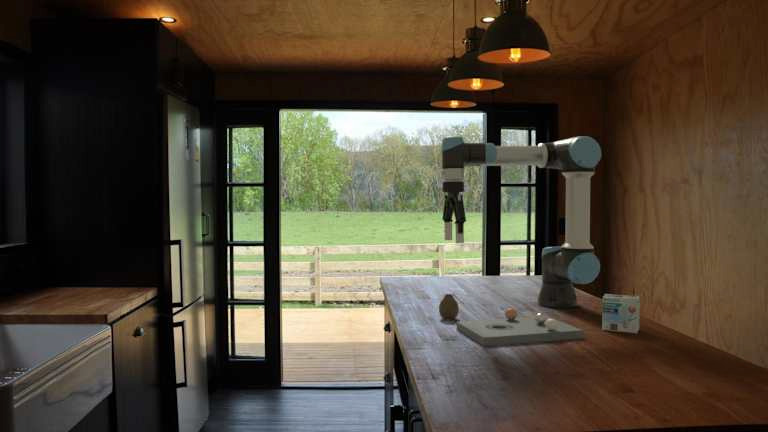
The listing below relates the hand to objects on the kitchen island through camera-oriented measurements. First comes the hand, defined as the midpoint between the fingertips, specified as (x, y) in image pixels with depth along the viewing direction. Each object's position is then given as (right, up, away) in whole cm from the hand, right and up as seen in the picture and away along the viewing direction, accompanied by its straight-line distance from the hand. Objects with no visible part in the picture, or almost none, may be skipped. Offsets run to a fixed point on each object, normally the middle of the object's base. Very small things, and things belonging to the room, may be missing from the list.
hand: (453, 241), depth 201 cm
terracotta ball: (+17, -23, -13) cm, 32 cm away
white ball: (+26, -24, -29) cm, 45 cm away
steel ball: (+25, -24, -20) cm, 40 cm away
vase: (-2, -28, +2) cm, 28 cm away
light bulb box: (+51, -28, -18) cm, 61 cm away
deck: (+17, -28, -22) cm, 39 cm away
